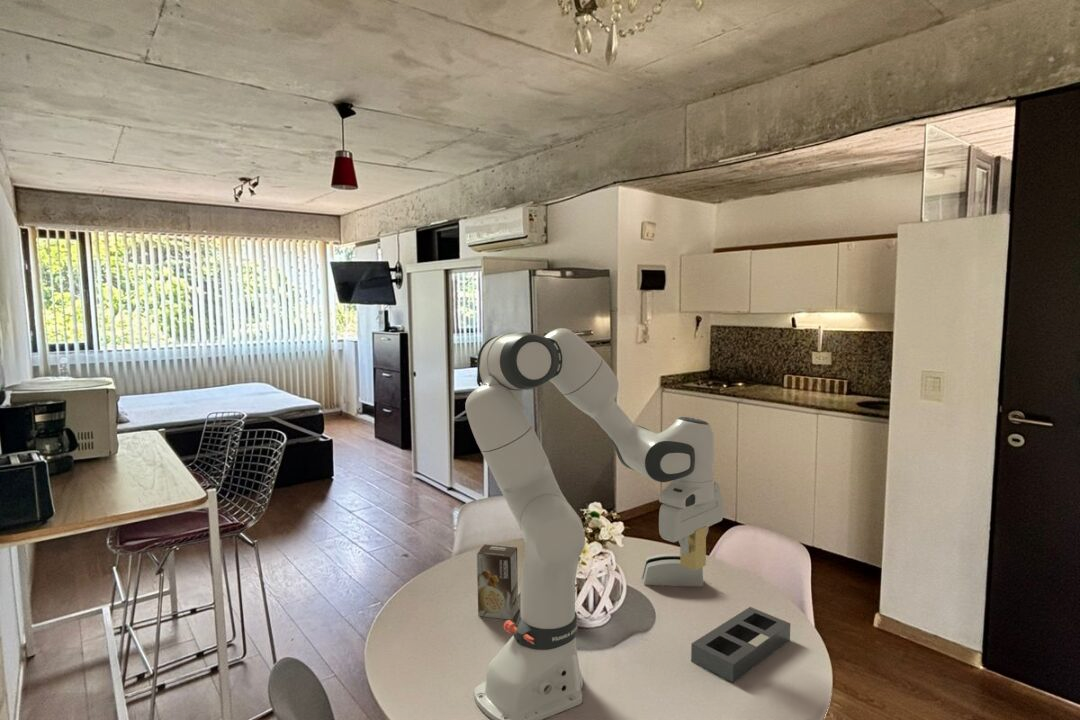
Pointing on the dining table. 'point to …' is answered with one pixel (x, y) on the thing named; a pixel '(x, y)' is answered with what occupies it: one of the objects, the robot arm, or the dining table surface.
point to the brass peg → (695, 551)
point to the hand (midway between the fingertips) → (693, 549)
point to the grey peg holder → (740, 643)
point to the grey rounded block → (670, 572)
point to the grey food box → (497, 581)
